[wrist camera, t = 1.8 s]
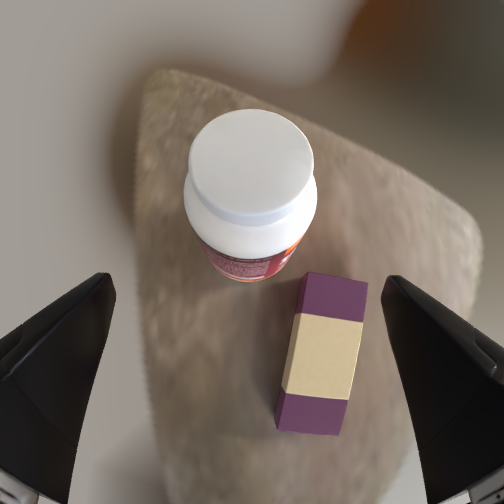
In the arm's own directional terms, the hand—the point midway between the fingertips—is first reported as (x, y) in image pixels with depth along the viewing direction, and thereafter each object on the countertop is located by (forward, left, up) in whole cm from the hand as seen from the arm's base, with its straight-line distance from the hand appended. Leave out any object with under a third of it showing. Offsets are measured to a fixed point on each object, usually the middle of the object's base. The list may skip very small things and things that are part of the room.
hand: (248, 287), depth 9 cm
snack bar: (-2, -5, -11) cm, 13 cm away
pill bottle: (+5, +1, -12) cm, 13 cm away
